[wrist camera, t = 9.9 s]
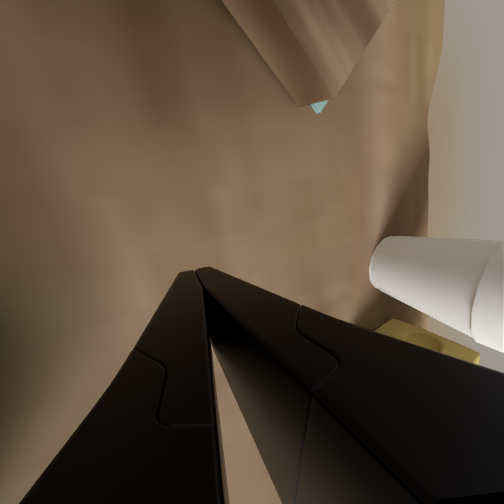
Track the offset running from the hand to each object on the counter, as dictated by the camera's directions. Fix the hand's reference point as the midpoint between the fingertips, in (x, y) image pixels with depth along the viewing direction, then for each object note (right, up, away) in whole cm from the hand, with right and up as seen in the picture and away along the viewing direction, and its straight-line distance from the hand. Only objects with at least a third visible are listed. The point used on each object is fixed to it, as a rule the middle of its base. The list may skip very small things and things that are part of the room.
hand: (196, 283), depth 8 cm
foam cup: (+17, 0, +28) cm, 32 cm away
